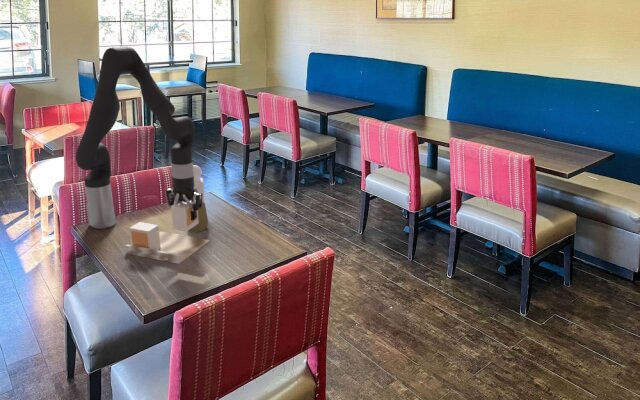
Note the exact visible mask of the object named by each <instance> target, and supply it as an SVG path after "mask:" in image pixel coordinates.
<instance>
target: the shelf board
mask: <svg viewBox="0 0 640 400" xmlns="http://www.w3.org/2000/svg"><path fill="white" fill-rule="evenodd" d="M159 237H160V246H161V248H160V249H159V250H154V249H149V248H143V247H138V246H133V245H131V244H125V246H124V248H125V254H128V255H133V256H137V257H144V258H148V259H154V260H159V261H163V262H168V263H173V264H181V263H182V262H184V261H185V260H186V259H188V258H189V257H190V256H191V255H193V254H195V253H196V252H197V251H198V250H199V249H201V248H202V247H203V246H204V245H206V244H207V243H209V242H210V241H211V240H209V239H205V238H201V237H200V238H199V237H196V236H195V237H193V236H189V235H188V236H187V235H183V234H177V233H171V232H166V231H161V230H159Z"/></svg>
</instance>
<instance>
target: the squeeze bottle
mask: <svg viewBox="0 0 640 400" xmlns="http://www.w3.org/2000/svg"><path fill="white" fill-rule="evenodd" d="M194 191H195V193H198V191H197V188H194ZM194 199H195V196H194ZM195 200H196V199H195ZM198 221H199V223H198V224H197V225H195V226H194V227H193V228H191V229H190V230H189V231H191V232H203V231H206V230H207V228H208V225H209V220H208V213H207V209H206V203H205V201H204V202H203V201H202V207H201V208H200V209H199V210H198Z"/></svg>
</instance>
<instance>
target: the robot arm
mask: <svg viewBox="0 0 640 400" xmlns="http://www.w3.org/2000/svg"><path fill="white" fill-rule="evenodd" d="M143 61H144V60H142V58H141V56H140V55H139V53H138V52H137V51H136V50H135V49H134V48H133V47H132V46H128V45H127V46H126V45H125V46H112V47H108V48H106V49H105V50H104V52H103V55H102V58H101V65H100V69H99V70H100V71H99V77H98V82H97V87H96V90H95V94H94V99H93V100H92V105H91V108H90V112H89V116H88V120H87V122H86V125H85V128H84V133H83V134H82V137H81V140H79V141H80V142H79V145H78V146H77V149H76V152H75V162H76V165H77V166H78V168H79V169H80V170H83V171H90V172H89V173H88V174H87V175H86V176H85V177H84V178H83V179H84V181H83V182H84V187H85V194H86V199H87V202H86V203H85V208H86V213H87V220H88V225H89V226H90V227H92V228H93V229H99V230H100V229H101V230H102V229H108V228H111V227H113V226H114V225H115V224H117V223H116V215H115V208H114V200H113V193H112V186H111V178H112V177H111V176H112V171H111V157H110V152H109V150H108V148H107V146H106V145H105V144H104V143H102V140H103V139H105V137H106V136H107V135H108V134H109V133H110V131H112V128H113V127H114V125H115V124H116V122H117V119H118V117H119V116H118V115H119V112H120V109H121V105H120V100H119V97H118V94H117V91H116V90H117V89H116V88H117V83H118V80H119V79H120V76H122V75H128V74H130V75H131V76H132V77H133V78H134V79H135V80H136V81H137V83H138V85H139V86H140V90H141V91H140V92H141V96H142V99H143V102H144V103H145V105H146V106H147V107H148V109H149V110H150V111H151V112H152V114H153V115H154V116H155V117H156V119H157V122H158V124H159V125H160V128H161V130H162V132H163V134H164V135H165V137H166V138H167V139H169V140H171V141H176V142H175V144H174V145H173V146H171V148H170V159H171V160H170V161H171V165H170V166H171V167H170V170H171V171H170V172H171V182H172V185H171V186H172V187H170V188H168V189H166V190H165V194H166V199H167V204H168V206H170V207H171V206H172V205H174V204H175V203H176V204H177V203H179V202H186V203H187V205H188V206H189V207H190V209H191V220H192V221H194V220H195V219H196V218H197V210H199V209H200V208H201V207H202V196H203V195H202V193H200V194H198V193H195V191H194V171H193V165H194V164H193V154H192V150H193V144H194V139H195V134H196V130H195V129H196V126H195V123H194V121H193V120H192V119H191V118H190V117H188V116H181V117H177V118H174V117H173V115H174V113H175V111H176V108H175V106H174V104H173V103H172V102H171V100H170V99H169V98H168V97H167V96H166V94H165V93H164V92H163V91H162V90H161V88H160V87H159V86H158V84H157V82H156V81H155V80H154V78H153V76H152V74H151V73H150V71H149V69H148V67H147V66H146V65H145V63H144V62H143ZM194 196H195V199H196V202H195V199H194ZM190 201H191V202H190Z"/></svg>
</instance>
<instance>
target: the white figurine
mask: <svg viewBox="0 0 640 400" xmlns="http://www.w3.org/2000/svg"><path fill="white" fill-rule="evenodd" d="M193 171H194V188H197V191H198V194H200V193H202V195H203V196H202V201H203V202H204V203H205V187H204V185H205V184H204V183H205V182H204V177H202V174H203V171H202V169H201V167H200V166H198V165H197V164H193Z"/></svg>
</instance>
